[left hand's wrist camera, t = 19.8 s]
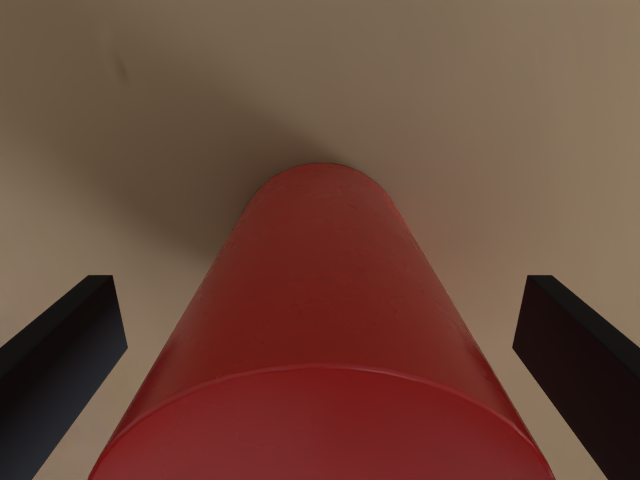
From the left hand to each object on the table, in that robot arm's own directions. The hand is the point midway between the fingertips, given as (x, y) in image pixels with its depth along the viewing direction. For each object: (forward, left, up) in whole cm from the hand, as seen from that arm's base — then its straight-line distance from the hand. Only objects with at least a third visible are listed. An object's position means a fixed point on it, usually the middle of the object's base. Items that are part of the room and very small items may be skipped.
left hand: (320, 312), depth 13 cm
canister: (0, 0, -6) cm, 6 cm away
